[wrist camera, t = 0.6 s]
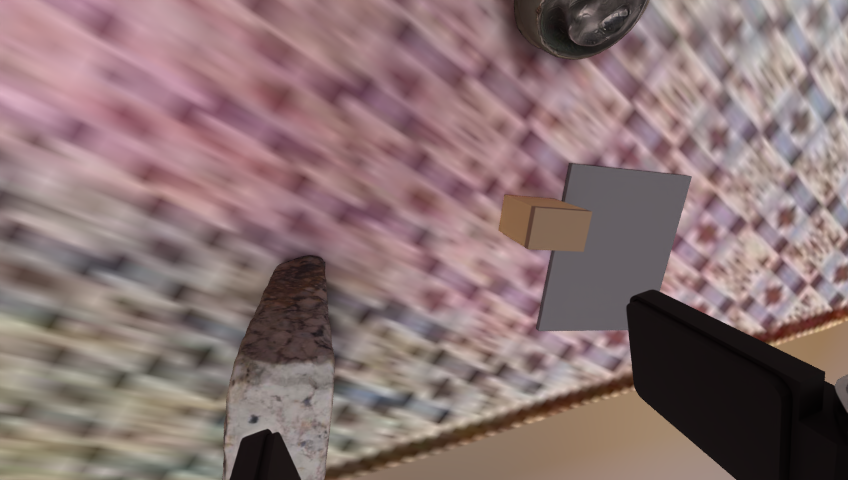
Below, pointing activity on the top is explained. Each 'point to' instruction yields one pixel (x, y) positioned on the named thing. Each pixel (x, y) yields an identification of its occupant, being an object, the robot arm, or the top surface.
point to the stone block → (286, 370)
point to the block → (544, 223)
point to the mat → (612, 246)
